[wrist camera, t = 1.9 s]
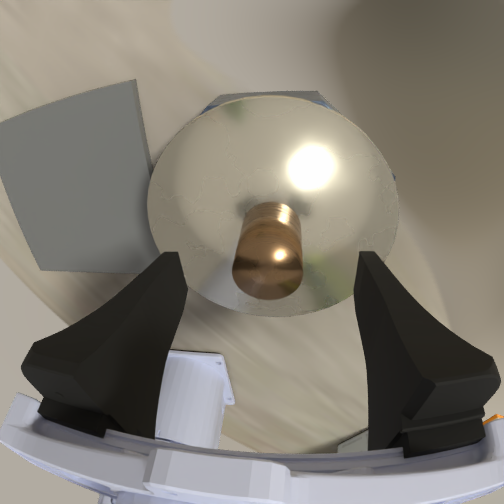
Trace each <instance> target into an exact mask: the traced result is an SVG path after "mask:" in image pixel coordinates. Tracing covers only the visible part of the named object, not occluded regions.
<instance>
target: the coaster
mask: <svg viewBox="0 0 504 504" xmlns="http://www.w3.org/2000/svg"><path fill="white" fill-rule="evenodd" d="M152 173H153V168H152V164H151V159H150V154H149V149H148V144H147V139H146V134H145V129H144V124H143V118H142V113H141V107H140V102H139V96H138V90H137V84H136V79H134V80H130V81H125V82H121V83H117V84H113V85H109V86H105V87H101V88H97V89H94V90H90V91H87V92H83V93H80V94H77V95H73V96H70V97H67V98H64V99H61V100H58V101H55V102H52V103H49V104H46V105H43V106H40V107H38V108H35V109H32V110H30V111H27V112H25V113H22V114H19V115H17V116H15V117H12V118H10V119H7V120H5V121H3V122H0V176H1V179H2V182H3V185H4V187H5V190H6V193H7V195H8V198H9V201H10V203H11V206H12V208H13V211H14V213H15V216H16V218H17V221H18V223H19V225H20V228H21V230H22V232H23V234H24V237H25V239H26V241H27V243H28V245H29V247H30V250H31V252H32V254H33V256H34V258H35V260H36V262H37V264H38V266H39V268H40V270H43V271H69V272H98V273H134V274H140V273H142V272H143V271H144V270H145V269H146V268H147V267H148V266H149V265H150V264H151V263H152V262H153V261H154V260H155V259H156V258H158V257H159V256H160V255H161V253H160V252H159V250H158V248H157V246H156V244H155V241H154V238H153V235H152V233H151V229H150V224H149V220H148V209H147V199H148V188H149V184H150V183H149V182H150V180H151V176H152Z"/></svg>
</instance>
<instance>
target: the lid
mask: <svg viewBox="0 0 504 504" xmlns="http://www.w3.org/2000/svg"><path fill="white" fill-rule="evenodd" d="M147 209H148V220H149V224H150V229H151V233H152V235H153V238H154V241H155V244H156V246H157V248H158V250H159V252H160V253H161V254H162V253H163V252H178V253H179V257H180V261H181V265H182V269H183V272H184V276H185V280H186V284H187V285H188V286H189V287H190V288H192V289H193V290H194V291H196V292H197V293H198V294H200V295H202V296H203V297H205V298H207V299H208V300H210V301H212V302H214V303H216V304H219V305H221V306H223V307H226V308H229V309H232V310H235V311H238V312H242V313H246V314H251V315H258V316H268V317H287V316H296V315H303V314H308V313H312V312H316V311H319V310H322V309H325V308H328V307H330V306H333V305H335V304H337V303H339V302H341V301H343V300H345V299H346V298H348V297H350V296H351V295H353V294H354V291H353V289H354V283H355V277H356V271H357V264H358V258H359V251H375V252H376V253H377V255H378V256H379V257H380V258H381V260H382V261H383V262H384V261H385V260H386V258H387V256H388V255H389V253H390V250H391V248H392V245H393V243H394V240H395V236H396V232H397V229H398V220H399V200H398V194H397V189H396V184H395V181H394V178H393V176H392V173H391V170H390V168H389V166H388V164H387V163H386V161H385V159H384V157H383V156H382V154H381V153H380V151H379V150H378V149H377V147H376V146H375V145H374V143H373V142H372V141H371V140H370V138H369V137H368V136H367V135H366V134H365V133H364V132H363V131H362V130H361V129H360V128H358V127H357V126H356V125H355V124H354V123H353V122H351V121H350V120H348V119H347V118H345V117H344V116H342V115H341V114H340V113H338V112H336V111H334V110H332V109H330V108H328V107H326V106H324V105H321V104H318V103H315V102H312V101H309V100H306V99H302V98H296V97H290V96H284V95H260V96H251V97H244V98H240V99H236V100H233V101H229V102H226V103H223V104H221V105H219V106H216V107H214V108H212V109H210V110H208V111H206V112H205V113H203V114H201V115H200V116H198V117H197V118H195V119H194V120H193V121H191V122H190V123H189V124H188V125H187V126H185V127H184V128H183V129H182V130H181V131H180V132H179V133H178V134H177V135H176V136H175V137H174V138H173V139H172V140H171V142H170V143H169V144H168V145H167V146H166V148H165V150H164V151H163V153H162V154H161V156H160V158H159V159H158V161H157V164H156V166H155V168H154V171H153V173H152V176H151V180H150V184H149V188H148V199H147Z"/></svg>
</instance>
